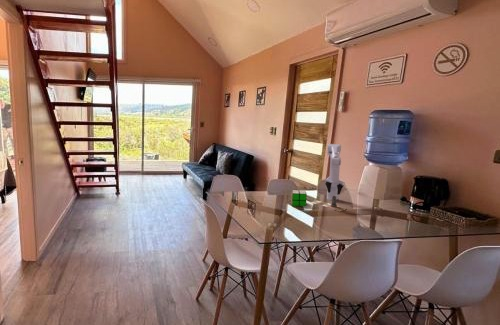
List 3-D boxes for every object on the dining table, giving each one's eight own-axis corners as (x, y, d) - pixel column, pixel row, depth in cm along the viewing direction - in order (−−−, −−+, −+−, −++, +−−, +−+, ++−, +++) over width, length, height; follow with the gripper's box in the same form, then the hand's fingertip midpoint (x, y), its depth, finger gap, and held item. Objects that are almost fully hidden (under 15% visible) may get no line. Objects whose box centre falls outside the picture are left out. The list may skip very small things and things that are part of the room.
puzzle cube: (304, 203, 223) (305, 190, 221) (306, 207, 213) (306, 193, 212) (291, 203, 224) (291, 190, 222) (291, 206, 214) (292, 193, 213)
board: (317, 201, 229) (317, 200, 229) (346, 208, 211) (347, 207, 211) (309, 203, 222) (309, 202, 222) (339, 211, 204) (339, 210, 204)
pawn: (332, 205, 216) (333, 194, 215) (338, 206, 213) (338, 196, 212) (329, 206, 213) (330, 195, 212) (334, 207, 210) (335, 197, 209)
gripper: (322, 173, 213) (321, 192, 215) (341, 176, 202) (340, 196, 204) (328, 172, 218) (327, 190, 220) (346, 175, 207) (345, 194, 209)
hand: (333, 193), depth 212 cm, fingers open, 7 cm apart
